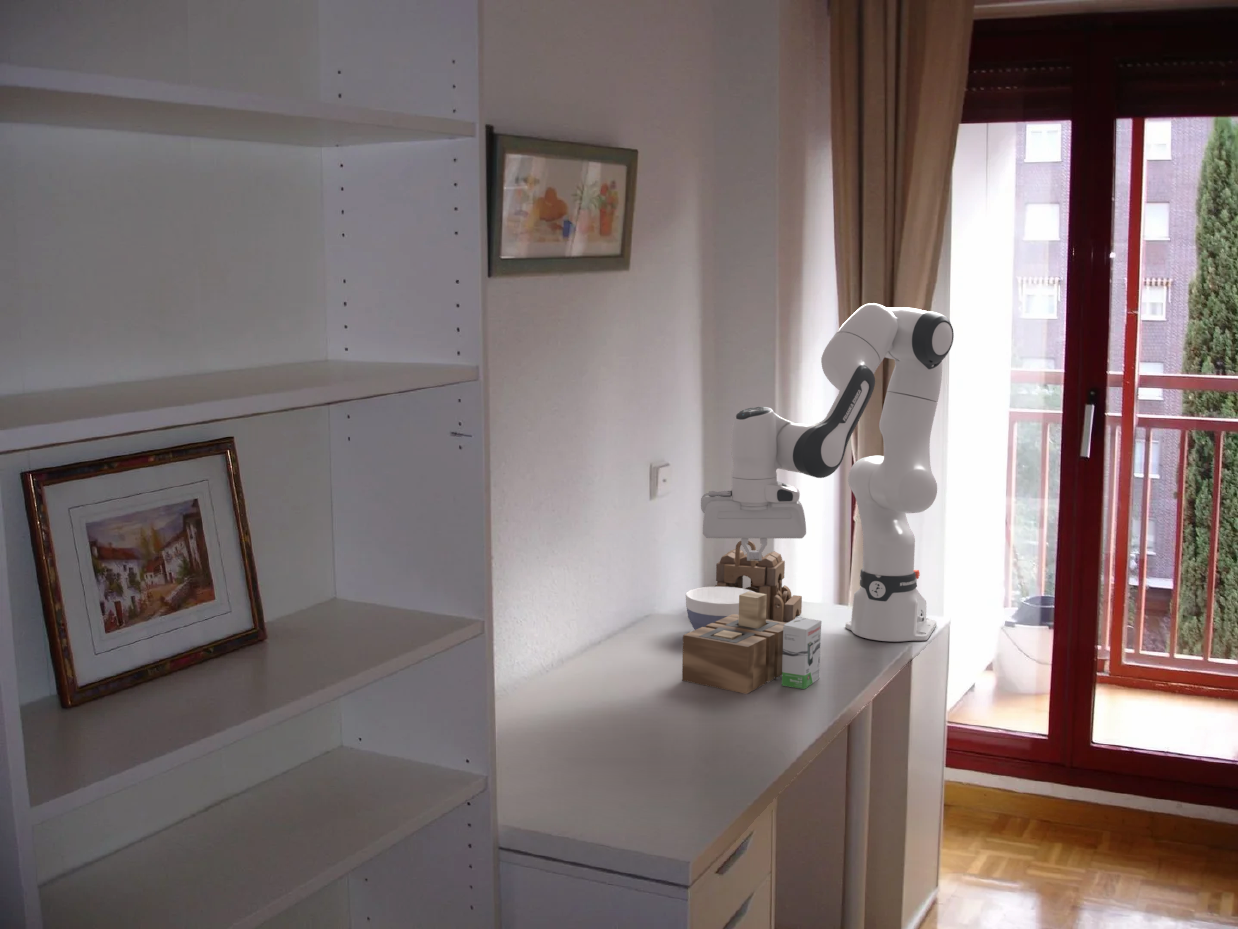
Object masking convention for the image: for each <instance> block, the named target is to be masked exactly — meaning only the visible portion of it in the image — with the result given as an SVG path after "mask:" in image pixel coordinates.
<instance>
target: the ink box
mask: <svg viewBox="0 0 1238 929" xmlns="http://www.w3.org/2000/svg"><path fill="white" fill-rule="evenodd" d="M785 623H786V624H784V626H783V655H782V675H781V686H783V687H790V688H794V689H795V688H796V689H801V690H806V689H807V688H809V686H811V685H812V684H814V683H815V682H816V681H818V680H819V679H820V677H821V676H820V672H821V671H820V669H821V668H820V667H821V641H822V640H821V638H822V634H821V633H822V620H818V619H814V618H808V617H801V616H799V617H795V619H794V620H792V621H790V622H785Z"/></svg>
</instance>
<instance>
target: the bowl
mask: <svg viewBox="0 0 1238 929" xmlns="http://www.w3.org/2000/svg"><path fill="white" fill-rule="evenodd" d="M746 592H753V591H751V590H747V589H745V588H743V589H742V588H735V587H714V586H704V587H703V586H702V587H697V588H693V589H689V591H686V593H685V607H686V612H687V617H688V620H689V622H690V624H691V625H692V628H693V630H696V629H699V628H701V627H706V625H708V624H711V623H715V621H718V620H720V619H723V618H725V617H727V616H730V615H732V614H736V615H739V595H741V594H744V593H746Z"/></svg>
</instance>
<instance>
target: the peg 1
mask: <svg viewBox="0 0 1238 929" xmlns="http://www.w3.org/2000/svg"><path fill="white" fill-rule="evenodd" d="M713 636H714V637H720V638H725V639H731V640H734V639H736V638H738V637H740V636H742V633H737V632H731V631H726V630H723V631H721V632H718V633H716V634H714V635H713Z"/></svg>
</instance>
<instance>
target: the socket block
mask: <svg viewBox="0 0 1238 929" xmlns="http://www.w3.org/2000/svg"><path fill="white" fill-rule="evenodd" d="M786 623H787V622H778V621H773V620H766V625H765V626H762V627H760V628H758V629H757V628H751V627H745V626H739V615H736V614H732V615H730V616H727V617H725V618H723V619H720V620H718V621H715V623H711V624H708V625H706V627H701V628H699V629H696V630H695V629H693V630H692V631H689V632H687V633H685V634H683V635H682V663H681V664H682V670H681V671H682V674H681V678H682V679H681V681H683V682H688V683H693V684H697V685H701V686H702V685H703V686H707V687H711V688H716V689H721V690H727V691H731V692H736V693H741V694H745V695H748V694H750V693H751V692H753V691H754V690H757V689H759V688H760V687H762V686H764V685H766V683H770V682H771V681H773V680H775V678H778V677H780V676H781V677H782V655H783V626H784V624H786ZM723 630H726V631H731V632H737V633H742V636H740V637H738V638H736V639H734V640H731V639H725V638H720V637H714V636H713V635H714V634H716V633H718V632H721V631H723Z"/></svg>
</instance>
